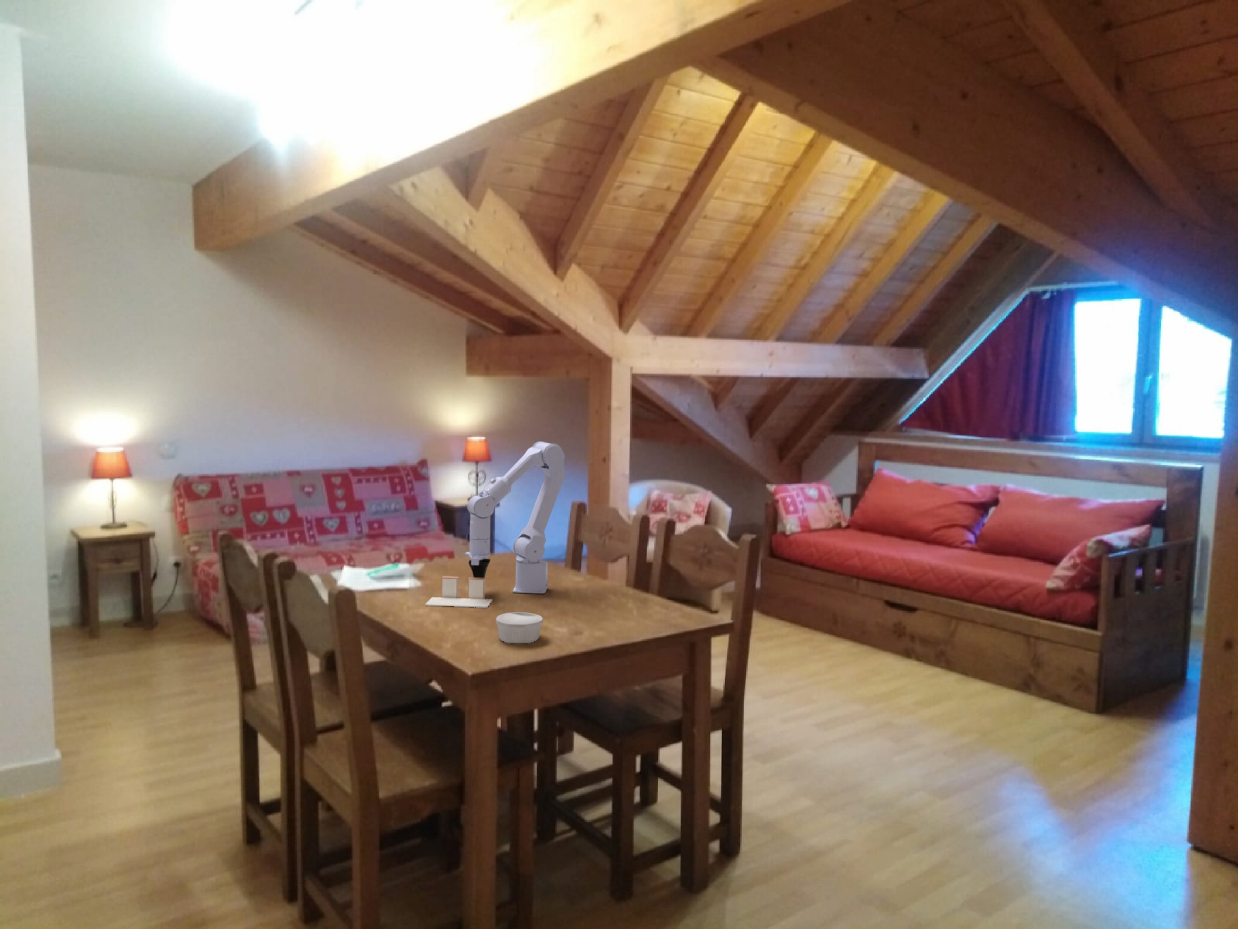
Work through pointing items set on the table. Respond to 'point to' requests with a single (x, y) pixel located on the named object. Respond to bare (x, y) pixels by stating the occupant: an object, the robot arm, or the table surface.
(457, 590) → the tile
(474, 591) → the tile
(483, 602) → the felt mat
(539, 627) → the ramekin
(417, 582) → the table surface
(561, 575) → the table surface
